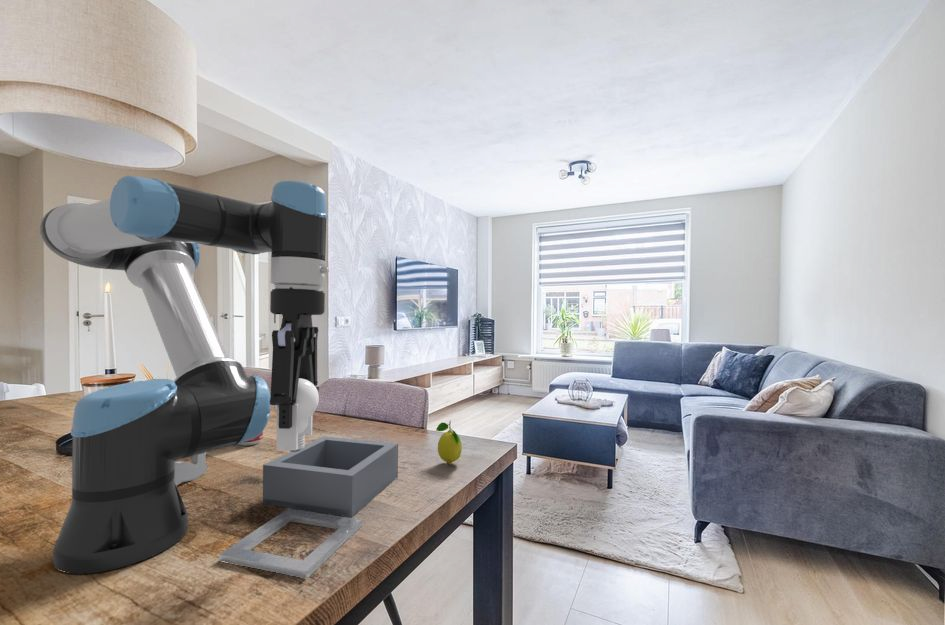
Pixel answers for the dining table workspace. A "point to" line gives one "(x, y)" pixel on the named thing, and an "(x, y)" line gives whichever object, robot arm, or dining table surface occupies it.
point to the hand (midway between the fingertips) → (295, 441)
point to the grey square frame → (285, 565)
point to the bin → (331, 475)
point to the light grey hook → (190, 469)
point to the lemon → (449, 444)
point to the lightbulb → (304, 408)
